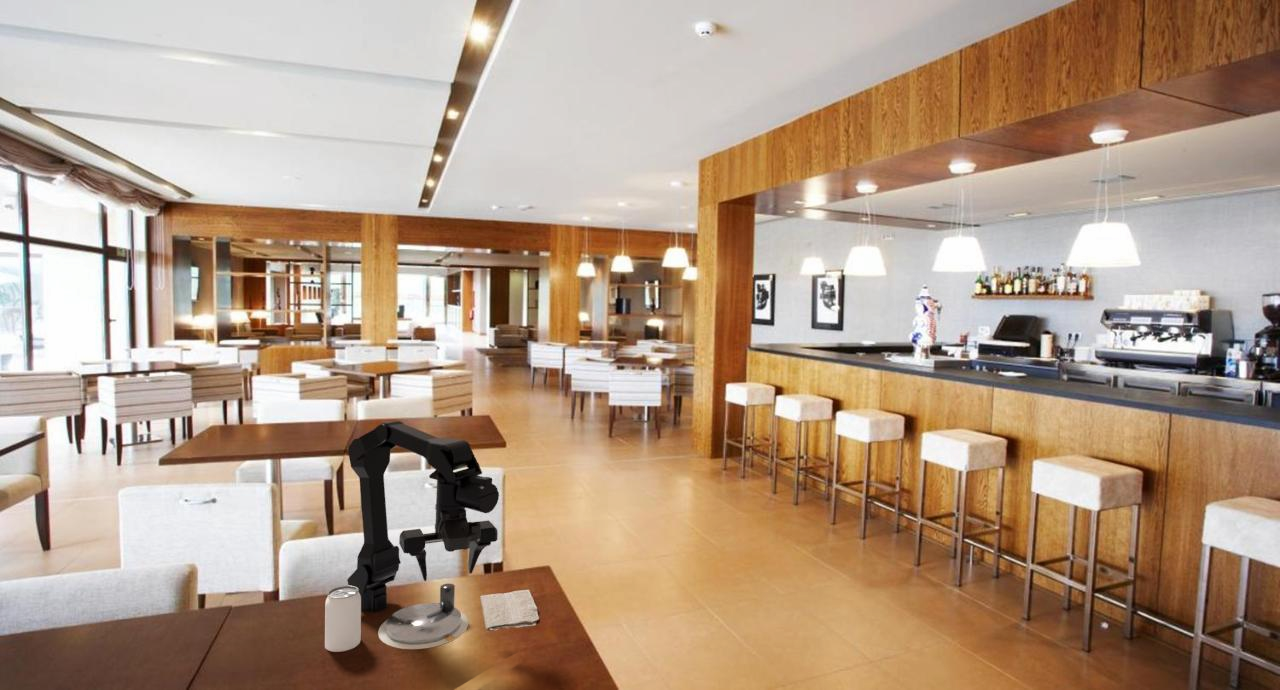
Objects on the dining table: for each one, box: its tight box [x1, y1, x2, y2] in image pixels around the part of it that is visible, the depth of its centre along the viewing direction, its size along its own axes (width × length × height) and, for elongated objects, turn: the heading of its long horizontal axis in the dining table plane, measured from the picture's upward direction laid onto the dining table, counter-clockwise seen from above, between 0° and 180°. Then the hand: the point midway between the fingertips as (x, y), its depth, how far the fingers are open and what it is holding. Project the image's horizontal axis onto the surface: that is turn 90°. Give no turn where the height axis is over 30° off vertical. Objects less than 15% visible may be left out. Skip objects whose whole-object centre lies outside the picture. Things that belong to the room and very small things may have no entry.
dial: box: [386, 583, 462, 644], centre depth 137 cm, size 15×15×6 cm
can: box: [324, 585, 362, 653], centre depth 129 cm, size 6×6×12 cm
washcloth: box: [479, 589, 540, 632], centre depth 146 cm, size 12×18×3 cm, turn 20°
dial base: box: [377, 611, 469, 650], centre depth 137 cm, size 18×18×2 cm
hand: (447, 576), depth 134 cm, fingers open, 9 cm apart
